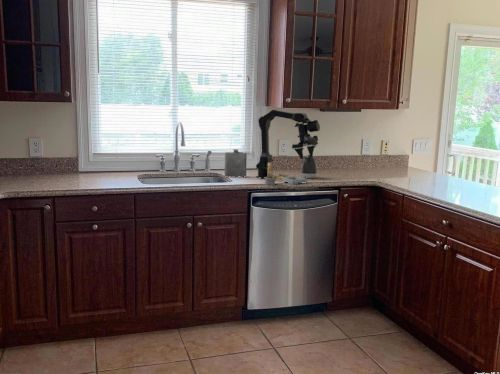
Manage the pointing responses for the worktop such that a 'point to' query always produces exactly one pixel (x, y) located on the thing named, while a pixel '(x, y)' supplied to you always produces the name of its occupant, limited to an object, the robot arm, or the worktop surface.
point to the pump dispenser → (309, 167)
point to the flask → (235, 163)
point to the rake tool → (270, 175)
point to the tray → (293, 180)
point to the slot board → (281, 176)
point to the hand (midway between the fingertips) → (306, 158)
